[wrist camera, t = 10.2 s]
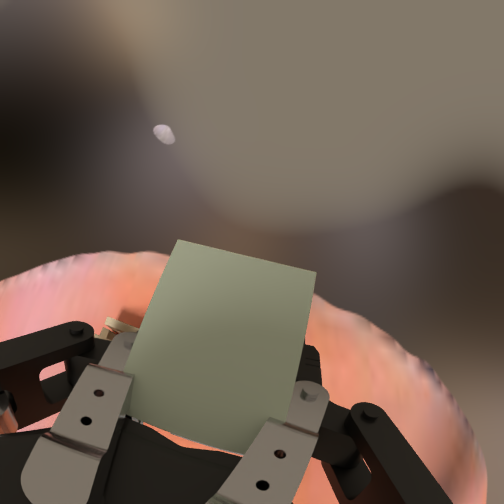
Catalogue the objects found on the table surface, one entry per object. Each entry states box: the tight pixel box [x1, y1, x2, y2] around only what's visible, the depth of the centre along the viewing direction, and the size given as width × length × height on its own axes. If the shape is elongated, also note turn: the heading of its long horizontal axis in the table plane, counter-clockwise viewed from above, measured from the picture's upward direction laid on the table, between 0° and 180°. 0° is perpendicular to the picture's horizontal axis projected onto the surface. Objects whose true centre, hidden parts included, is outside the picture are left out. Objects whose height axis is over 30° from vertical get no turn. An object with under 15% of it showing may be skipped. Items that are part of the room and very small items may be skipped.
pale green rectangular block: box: [123, 240, 317, 454], centre depth 11 cm, size 4×5×10 cm
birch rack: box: [100, 317, 139, 340], centre depth 28 cm, size 7×16×2 cm, turn 166°
